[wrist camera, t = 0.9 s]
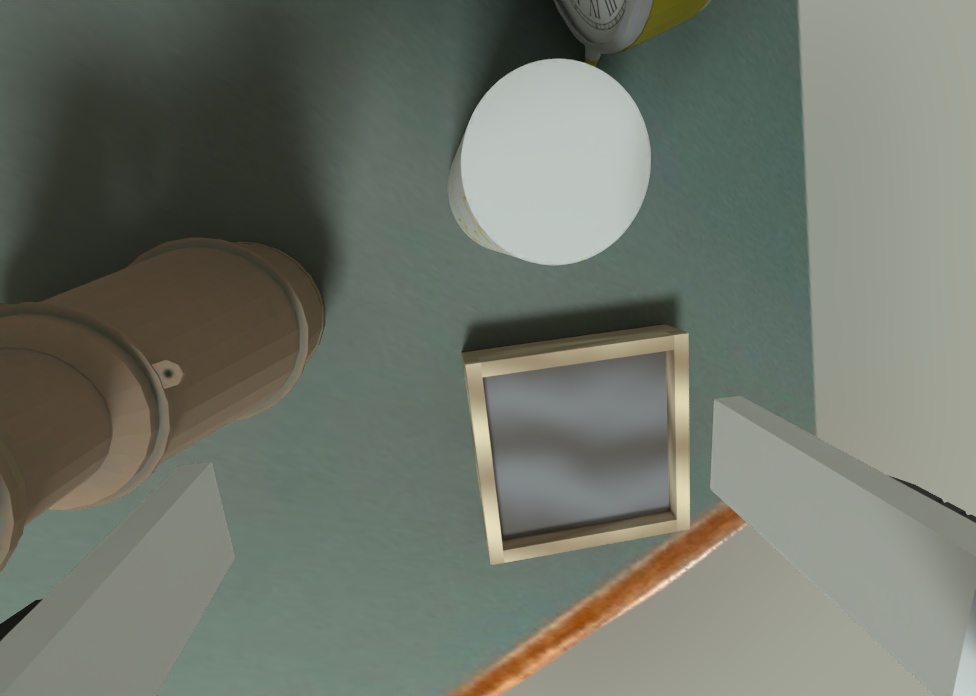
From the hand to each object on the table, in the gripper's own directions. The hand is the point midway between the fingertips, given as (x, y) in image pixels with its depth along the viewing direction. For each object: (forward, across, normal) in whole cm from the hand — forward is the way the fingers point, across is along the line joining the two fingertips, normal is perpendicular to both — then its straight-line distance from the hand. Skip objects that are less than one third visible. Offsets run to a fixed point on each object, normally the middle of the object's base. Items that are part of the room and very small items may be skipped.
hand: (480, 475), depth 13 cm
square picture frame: (+21, +9, -10) cm, 25 cm away
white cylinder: (+22, +5, +8) cm, 24 cm away
